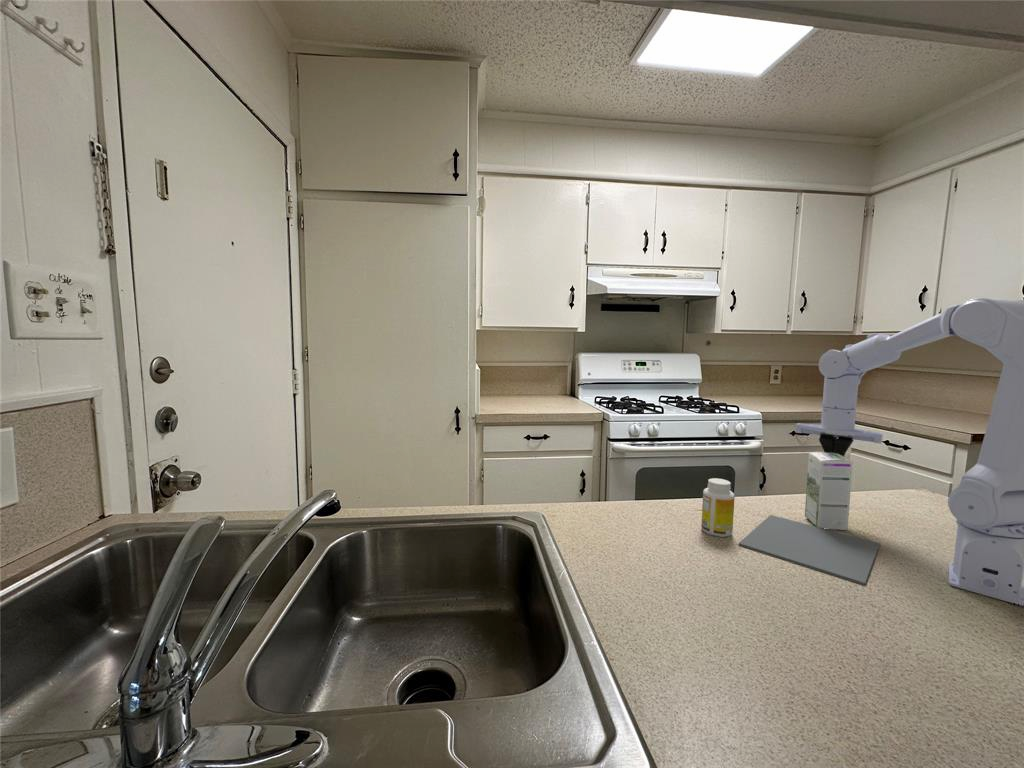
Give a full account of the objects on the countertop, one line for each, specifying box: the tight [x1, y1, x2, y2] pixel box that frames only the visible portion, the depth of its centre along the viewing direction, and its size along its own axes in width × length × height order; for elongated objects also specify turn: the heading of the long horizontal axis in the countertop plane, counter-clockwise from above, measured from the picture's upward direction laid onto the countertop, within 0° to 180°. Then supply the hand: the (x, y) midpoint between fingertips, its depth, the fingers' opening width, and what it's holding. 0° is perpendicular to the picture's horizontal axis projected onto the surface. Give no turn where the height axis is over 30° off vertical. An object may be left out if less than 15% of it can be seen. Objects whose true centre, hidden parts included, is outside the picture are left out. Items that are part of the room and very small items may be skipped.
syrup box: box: [804, 451, 853, 531], centre depth 88 cm, size 6×6×14 cm
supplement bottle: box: [701, 477, 735, 538], centre depth 83 cm, size 6×6×10 cm
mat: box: [738, 514, 880, 586], centre depth 79 cm, size 20×18×1 cm
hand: (833, 470), depth 91 cm, fingers closed
